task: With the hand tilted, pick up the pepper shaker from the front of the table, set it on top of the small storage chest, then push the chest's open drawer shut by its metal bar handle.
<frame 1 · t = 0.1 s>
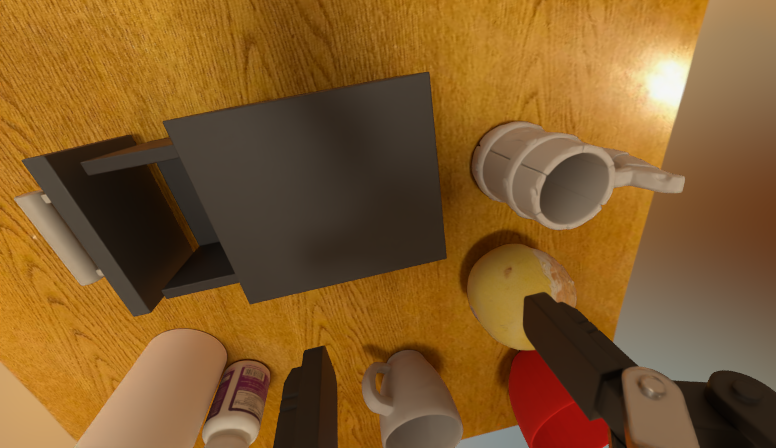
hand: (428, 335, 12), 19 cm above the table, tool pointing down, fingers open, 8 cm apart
pill bottle: (248, 372, 37), on the table
small storage chest: (331, 165, 28), on the table
drawer: (187, 210, 22), point 5 cm above the table, slide at 7.0 cm
mug: (522, 156, 30), on the table
mug 2: (396, 358, 40), on the table
ceramic cup: (527, 368, 45), on the table
cup: (188, 354, 34), on the table
fruit: (495, 267, 36), on the table
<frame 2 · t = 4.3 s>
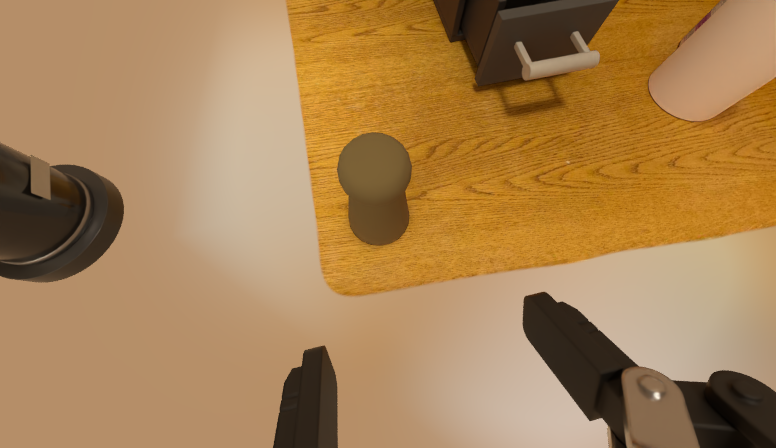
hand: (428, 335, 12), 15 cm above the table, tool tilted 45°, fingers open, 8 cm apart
drawer: (524, 16, 32), point 5 cm above the table, slide at 7.0 cm
pepper shaker: (379, 216, 30), on the table
cup: (683, 93, 35), on the table
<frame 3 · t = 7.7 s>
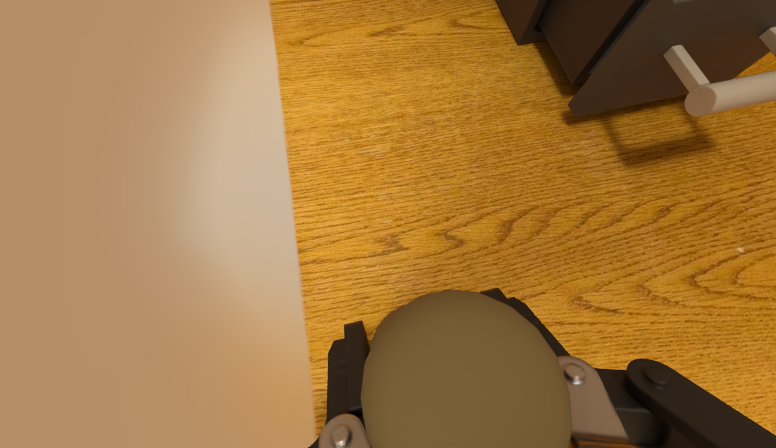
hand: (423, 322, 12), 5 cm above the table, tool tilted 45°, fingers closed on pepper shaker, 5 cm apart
drawer: (662, 1, 19), point 5 cm above the table, slide at 7.0 cm
pepper shaker: (422, 357, 17), on the table, touching gripper
when the fingers open (15 cm above the table, at t = 16.1 s): pepper shaker stays where it is, resting on small storage chest.
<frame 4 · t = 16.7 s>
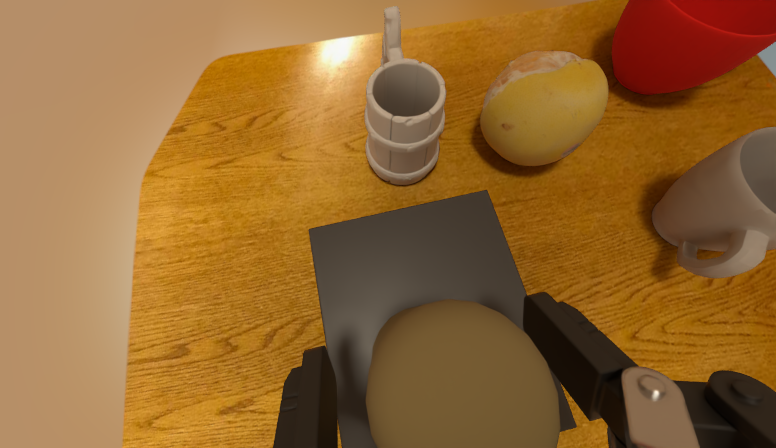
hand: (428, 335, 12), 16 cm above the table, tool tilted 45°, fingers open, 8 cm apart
small storage chest: (415, 321, 27), on the table
mug: (397, 142, 34), on the table
pepper shaker: (422, 359, 17), point 9 cm above the table, touching small storage chest
mug 2: (672, 235, 30), on the table
ceramic cup: (655, 75, 37), on the table
fruit: (516, 141, 34), on the table
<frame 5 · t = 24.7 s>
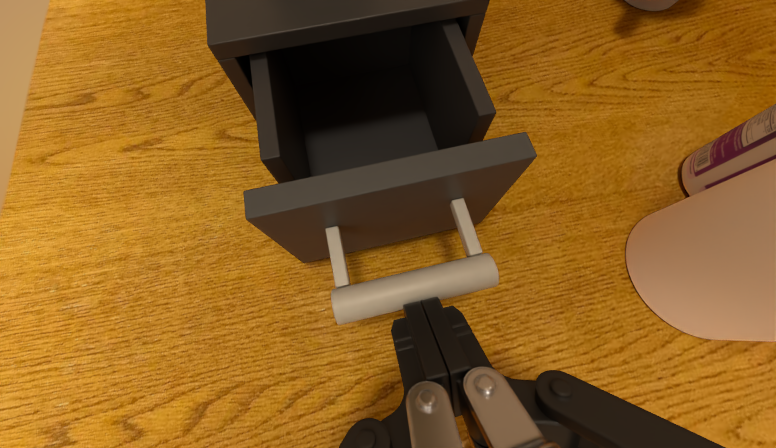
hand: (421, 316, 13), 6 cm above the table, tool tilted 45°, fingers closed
pill bottle: (714, 185, 21), on the table
small storage chest: (350, 72, 24), on the table
drawer: (375, 144, 16), point 5 cm above the table, slide at 6.6 cm, touching gripper
mug 2: (637, 2, 27), on the table
cup: (689, 270, 19), on the table
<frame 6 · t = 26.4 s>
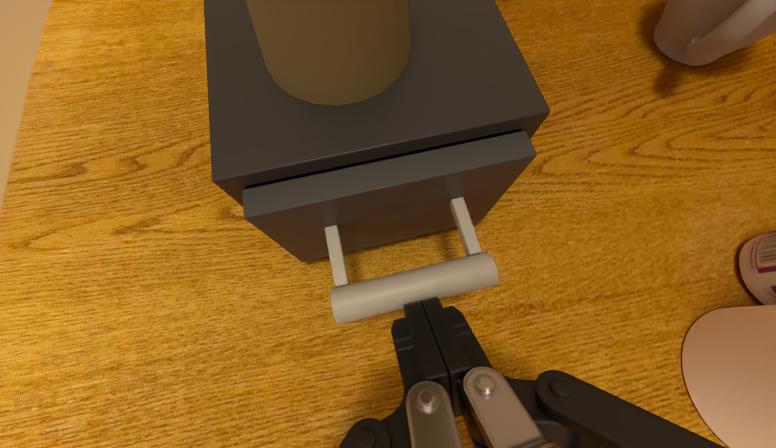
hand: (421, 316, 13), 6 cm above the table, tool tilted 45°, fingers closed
pill bottle: (774, 276, 19), on the table
small storage chest: (366, 138, 22), on the table
drawer: (374, 143, 16), point 5 cm above the table, slide at 0.0 cm, touching small storage chest, gripper
pepper shaker: (338, 50, 13), point 9 cm above the table, touching small storage chest
mug 2: (677, 55, 25), on the table
cup: (754, 383, 17), on the table
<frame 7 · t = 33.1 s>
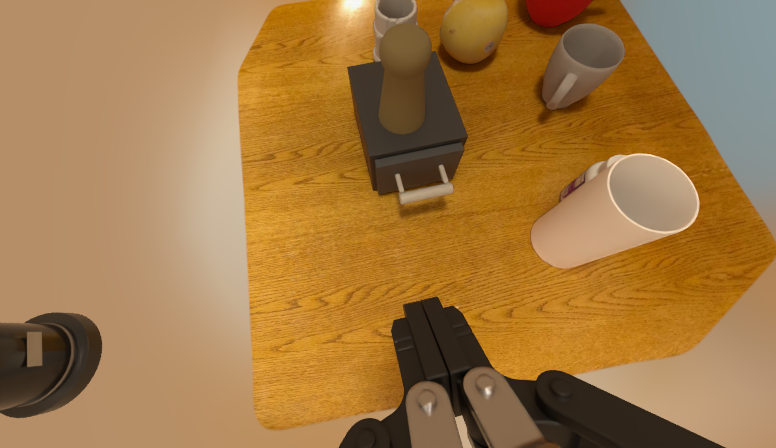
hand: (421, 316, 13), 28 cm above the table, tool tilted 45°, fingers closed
pill bottle: (576, 201, 45), on the table
small storage chest: (401, 142, 48), on the table
drawer: (409, 145, 42), point 5 cm above the table, slide at 0.0 cm
mug: (392, 54, 55), on the table
pepper shaker: (401, 115, 39), point 9 cm above the table, touching small storage chest
mug 2: (552, 102, 51), on the table
ceramic cup: (556, 16, 58), on the table
cup: (558, 240, 43), on the table
fruit: (465, 53, 55), on the table
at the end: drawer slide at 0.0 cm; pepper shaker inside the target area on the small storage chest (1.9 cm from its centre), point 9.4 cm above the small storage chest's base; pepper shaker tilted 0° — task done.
